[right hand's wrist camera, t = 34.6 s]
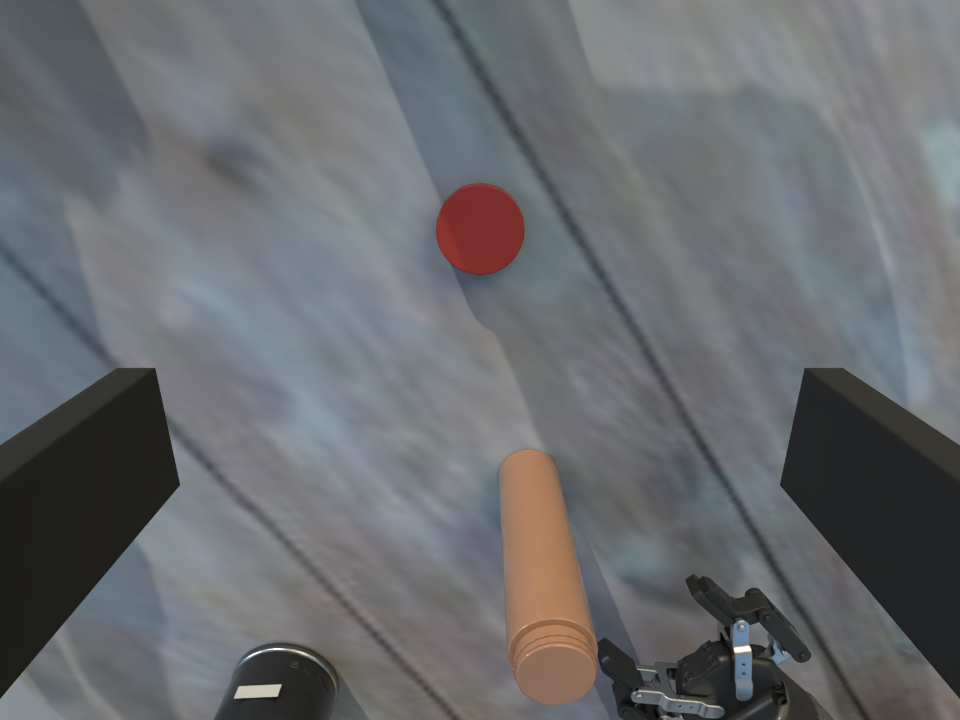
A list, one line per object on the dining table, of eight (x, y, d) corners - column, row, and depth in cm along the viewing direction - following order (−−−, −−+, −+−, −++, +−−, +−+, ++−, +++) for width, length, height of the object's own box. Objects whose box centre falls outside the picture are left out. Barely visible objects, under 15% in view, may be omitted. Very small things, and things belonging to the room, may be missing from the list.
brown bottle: (569, 479, 47) (621, 682, 30) (521, 510, 48) (545, 723, 31) (534, 438, 45) (567, 625, 28) (486, 470, 46) (489, 670, 29)
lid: (420, 233, 40) (418, 238, 38) (473, 164, 38) (473, 166, 37) (486, 285, 41) (486, 291, 40) (540, 220, 40) (542, 224, 38)
